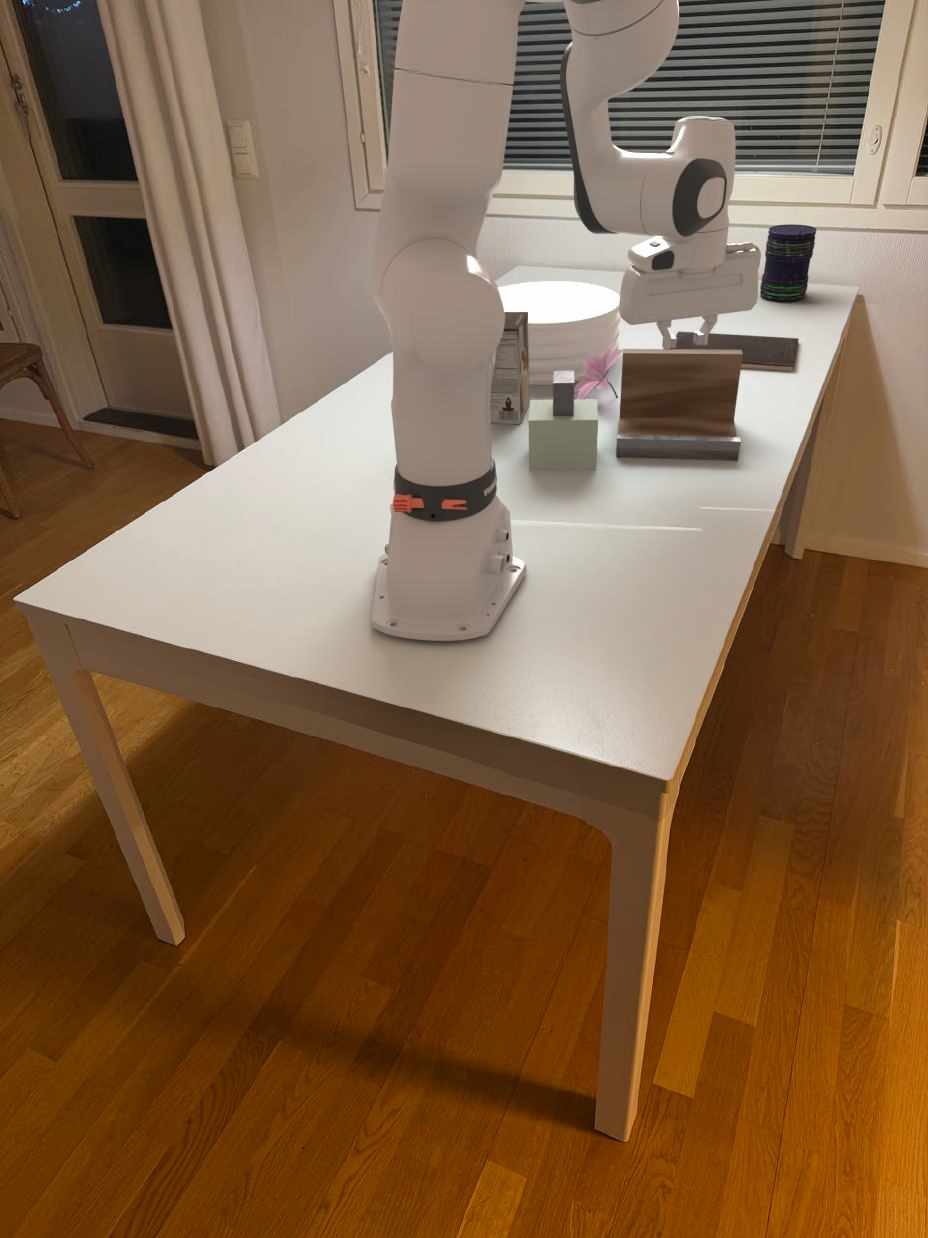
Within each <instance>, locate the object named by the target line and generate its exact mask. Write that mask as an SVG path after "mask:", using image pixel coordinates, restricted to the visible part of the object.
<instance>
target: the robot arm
mask: <svg viewBox="0 0 928 1238" xmlns="http://www.w3.org/2000/svg"><path fill="white" fill-rule="evenodd" d="M526 3H539V4H540V3H541V4H542V3H545V4H546V3H547V4H548V3H551V4H552V3H563V4H564V9H565V13H566V16H567V20H568V23H569V27H570V30H571V42H569V44H568V45H567V47H566V49H565V51H564V53H563V56H562V59H561V61H560V68H559V69H560V70H559V83H560V84H559V87H560V95H561V102H562V110H563V117H564V124H565V129H566V135H567V141H568V147H569V154H570V158H571V159H570V160H571V165H572V166H571V167H572V172H573V203H574V208H575V212H576V213H577V216H578V218H579V220H580V221H581V223H582V224H583V225H584V227H585V228H586V229H587V230H588V231H589V232H590V233H592V234H596V235H597V234H598V235H604V234H605V235H607V234H609V235H610V234H611V235H616V234H623V235H624V234H627V235H636V236H646V237H650V238H648V239H646V240H644V241H642V242H640V243H637V244H636V245H633V246H631V247H630V248H629V249H628V251H627V261H628V262H629V264H630V266H629V267H628V268H627V269H626V270H625V272H624V274H623V277H622V279H621V286H620V291H619V292H620V293H619V296H620V299H619V314H620V319H622V320H623V321H624V322H625V323H627V324H628V325H630V326H636V325H637V326H638V325H643V324H650V323H651V324H652V323H655V324H656V327H657V328H658V330H659V332H660V334H661V336H662V341H661V342H662V344H661V345H662V349H665V350H672V349H676V343H677V338H676V336H674V335H673V334H671V333H670V331H669V329H668V328H672V321H674V320H675V321H676V320H685V319H692V318H700V317H701V318H702V319H703V320H704V321H703V323H702V325H701V326H700V328H699V329H698V331H693V332H694V339H693V343H694V345H696V346H704V345H707V342H708V334H709V333H712V330H713V329H714V327H715V326H716V324H717V323H718V316H719V315H723V314H725V315H726V314H731V313H738V312H739V313H741V312H749V311H752V310H753V309H754V307H755V306H756V304H757V303H758V296H759V268H760V265H761V258H762V252H761V250H760V248H759V247H758V246H757V245H755V244H754V243H753V242H751V241H750V242H749V241H745V242H742V243H730V244H728V236H729V235H728V234H729V227H730V226H729V225H730V219H729V214H728V211H729V210H728V209H729V202H730V199H731V197H732V194H733V191H734V183H735V173H736V172H735V171H736V170H735V169H736V131H735V126H734V123H732V122H731V121H730V120H728V119H726V118H723V117H710V116H701V115H700V116H698V115H696V116H692V115H691V116H686V117H685V116H684V117H681V118H680V119H678V120H676V122H675V125H674V129H673V135H672V138H671V144H670V148H669V149H668V150H665V151H666V152H665V153H654V152H653V153H651V152H650V153H649V152H630V151H627V150H624V149H621V148H619V147H617V146H616V145H615V144H614V143H613V141H612V131H611V124H610V116H609V107H608V100H610V99H612V98H614V97H617V96H618V95H622V94H625V93H627V92H630V91H632V90H633V89H635V88H637V87H638V86H640V85H642V83H644V82H645V81H647V80H648V79H649V78H650V77H651V76H652V75H653V74H654V73H655V72H656V71H657V70H658V69H659V68H660V67H661V66H662V64H663V63H664V62H665V60H666V59H667V57H668V55H670V52H671V50H672V48H673V46H674V44H675V41H676V39H677V35H678V31H679V25H680V22H679V21H680V14H679V13H680V9H679V1H678V0H402V4H401V11H400V17H399V23H398V30H397V39H396V47H395V60H394V68H396V69H394V70H393V84H392V85H393V86H392V98H391V99H392V101H391V102H392V103H391V115H390V129H389V130H390V132H389V143H388V157H387V167H386V175H385V180H384V186H383V191H382V198H381V202H380V208H379V214H378V219H377V226H376V233H375V234H376V235H375V241H374V242H375V243H374V248H373V250H374V251H373V256H372V263H371V270H370V286H371V292H372V296H373V300H374V301H375V304H376V307H378V309H379V310H380V312H381V314H382V315H383V317H384V319H385V321H386V323H387V327H388V330H389V332H390V338H391V345H392V369H393V370H392V376H393V377H392V378H393V379H392V380H393V381H392V398H391V402H390V409H391V417H392V420H391V421H392V428H393V429H392V430H393V438H394V445H395V446H394V448H395V457H396V465H395V467H394V478H393V492H394V495H393V497H392V498H393V500H392V503H391V504H389V509H390V515H391V517H390V526H389V535H388V537H389V538H388V543H386V544H385V546H384V554H381V555H380V556H379V557H378V565H377V569H376V570H377V571H376V578H375V579H376V580H375V585H374V586H375V587H374V596H373V602H372V610H371V620H370V621H371V627H372V628H373V629H376V630H377V631H378V632H381V633H384V634H386V635H390V636H394V637H398V638H404V639H411V640H420V641H421V640H422V641H434V642H435V641H439V642H445V641H446V642H449V641H450V642H451V641H452V642H453V641H465V640H471V639H476V638H480V637H483V636H486V635H488V634H489V633H490V632H491V631H492V629H493V628H494V626H495V624H496V622H497V621H498V619H499V618H500V616H501V614H502V613H503V612H504V610H505V608H506V607H507V605H508V603H509V601H511V598H512V597H513V595H514V594H515V592H516V590H517V588H518V587H519V586H520V584H521V582H522V580H523V579H524V577H525V576H526V573H527V572H528V571H527V569H528V568H527V564H526V562H525V561H524V560H523V559H521V558H518V557H516V556H514V553H513V537H512V523H511V513H510V512H511V511H510V509H509V508H508V507H507V506H506V505H505V504H504V503H503V502H502V500H500V498H499V497H498V495H497V490H498V489H497V488H498V486H497V482H498V472H497V469H496V468H497V466H496V461H495V459H494V458H493V457H492V454H493V453H492V429H491V428H492V426H491V424H492V423H490V395H491V385H492V378H493V372H494V365H495V359H496V351H497V346H498V344H499V342H500V340H501V337H502V334H503V331H504V324H505V313H504V307H503V303H502V299H501V295H500V292H499V290H498V288H499V287H498V284H497V283H496V281H495V278H494V276H493V275H492V273H491V272H490V270H488V268H487V267H486V266H485V265H484V264H483V263H482V262H480V261H479V259H478V247H479V242H480V238H481V234H482V230H483V227H484V224H485V220H486V216H487V212H488V210H489V207H490V203H491V200H492V198H493V196H494V193H495V191H496V190H497V188H498V186H499V184H500V183H501V179H502V175H503V168H504V159H505V152H506V145H507V144H506V143H507V137H508V129H509V122H510V113H511V107H512V99H513V93H514V92H513V89H514V86H512V85H514V81H515V75H516V74H515V72H516V64H517V63H516V62H517V52H518V49H517V48H518V33H519V32H518V29H519V16H520V14H521V12H522V9H523V8H524V6H525V4H526ZM400 69H401V70H400ZM506 84H507V85H506Z"/></svg>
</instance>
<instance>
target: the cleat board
mask: <svg viewBox="0 0 928 1238" xmlns="http://www.w3.org/2000/svg"><path fill="white" fill-rule="evenodd" d="M622 350H623V352H622V363H621V365H622V366H621V381H620V382H621V383H620V399H619V400H620V403H619V416H618V417H619V420H618V429H617V435H616V436H617V437H616V449H615V451H616V453H615V457H616V458H642V459H643V458H644V459H646V458H648V459H650V458H651V459H677V460H678V459H679V460H681V459H683V460H709V461H711V460H712V461H739V456H740V452H741V451H740V449H741V443H742V441H741V437H738V434H737V429H736V423H735V417H736V409H737V408H736V407H737V400H738V391H739V385H740V379H741V377H740V376H741V371H742V370H741V369H742V368H741V363H742V356H743V353H742V350H702V349H672V350H665V349H663V348H649V349H648V348H623V349H622Z"/></svg>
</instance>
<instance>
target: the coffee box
mask: <svg viewBox="0 0 928 1238" xmlns="http://www.w3.org/2000/svg"><path fill="white" fill-rule="evenodd" d="M504 313H505V324H504V331H503V334H502V337H501V340H500V342H499V344H498V346H497V351H496V359H495V365H494V372H493V378H492V385H491V395H490V423H491V424H499V425H501V424H502V425H503V424H505V425H506V424H507V425H521V424H522V422H523V421H524V417H525V415H526V413H527V411H528V407H530V384H529V352H528V312H504Z"/></svg>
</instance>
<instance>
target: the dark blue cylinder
mask: <svg viewBox="0 0 928 1238" xmlns="http://www.w3.org/2000/svg"><path fill="white" fill-rule="evenodd" d="M816 234H817V228H816V227H814V226H811V225H806V224H790V223H789V224H778V225H773V226H770V227H769V228H768V236H767V241H766V245H765V252H764V253H765V254H764V256H765V263H764V269H763V270H764V271H763V274H762V275H761V282H760V288H759V291H760V292H759V295H760V298H761V299H763V300H764V301H768V302H771V303H772V302H773V303H780V304H781V303H786V304H787V303H795V302H800V301H803V300H804V298H805V296H806V294H807V290H808V286H809V285H808V282H809V270H810V263H811V259H812V257H813V255H814V249H815V244H816V242H815V240H816Z"/></svg>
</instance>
